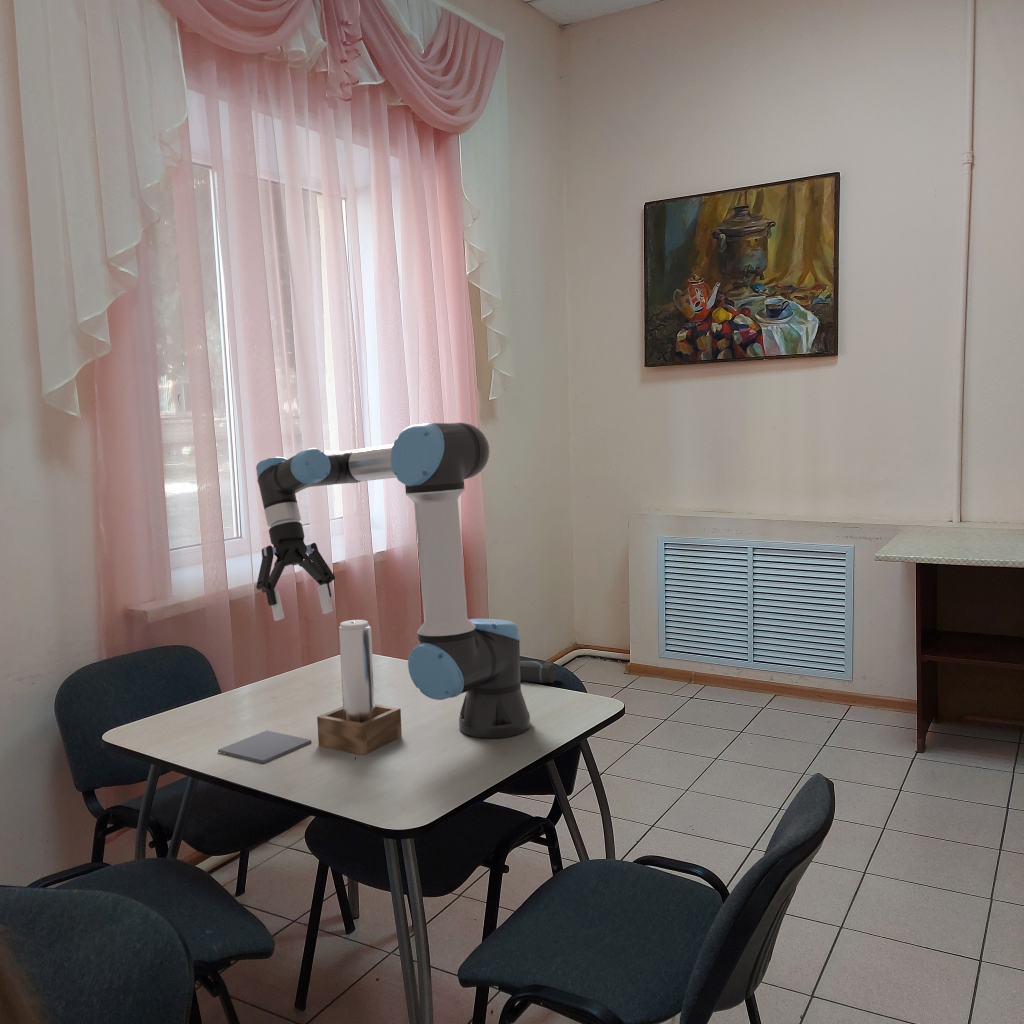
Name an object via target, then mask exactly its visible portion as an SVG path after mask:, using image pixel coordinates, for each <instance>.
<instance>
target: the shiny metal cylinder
mask: <svg viewBox="0 0 1024 1024" xmlns="http://www.w3.org/2000/svg"><path fill="white" fill-rule="evenodd" d="M338 631H339V632H338V634H339V651H340V657H339V658H340V670H341V671H340V672H341V673H340V676H341V695H342V697H341V698H342V707H343V717H344V720H349V721H354V722H359V723H362V722H365V721H367V720H369V719H371V718H374V717H375V704H376V702H375V700H376V699H375V681H374V663H373V661H374V660H373V641H372V639H373V638H372V637H373V636H372V626H371V625H370V624H369V621H368V620H365V619H351V620H350V619H349V620H345V621H342V622H340V626H339V627H338Z"/></svg>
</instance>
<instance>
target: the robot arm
mask: <svg viewBox="0 0 1024 1024" xmlns="http://www.w3.org/2000/svg"><path fill="white" fill-rule="evenodd" d="M489 457H490V445H489V442H488V439H487V437H486V436H485V434H484V433H483V432H482V431H481V430H480V429H479V428H478V427H476V426H474V425H472V424H470V423H465V422H451V423H450V422H445V423H444V422H442V423H441V422H438V423H437V422H435V423H434V422H428V423H427V422H425V423H420V424H413V425H409V426H407V427H406V428H404V429H402V430H401V432H400V433H399V434H398V436H397V437H396V438H395V440H394V442H393V443H392V444H386V445H385V444H384V445H383V444H382V445H379V446H371V447H365V448H364V447H363V448H358V449H350V450H344V451H331V452H327V451H326V452H324V450H321V449H318V448H316V447H310V448H307V449H305V450H300V451H299V452H297V453H296V454H295V455H293V456H291V457H289V458H287V457H284V456H274V457H268V458H266V459H262V460H260V461H259V462H258V463H257V464H256V466H255V468H256V469H255V470H256V477H257V480H256V481H257V484H258V487H259V492H260V496H261V501H262V505H263V509H264V514H265V519H266V525H267V527H268V528H269V530H268V534H269V539H270V543H271V544H272V545H273V546H272V545H267V546H265V547H264V548H262V549H261V557H262V558H261V563H260V568H259V573H258V576H257V582H256V588H255V589H257V590H258V591H259V590H261V592H262V593H263V594H266V600H267V604H268V606H271V611H272V616H273V621H274V622H277V621H280V620H284V619H285V614H284V613H285V612H284V607H283V604H282V598H281V595H280V590H279V588H276V586H277V584H278V582H279V580H280V577H281V575H282V573H283V571H284V569H285V568H286V567H288V566H297V565H298V566H299V567H302V568H303V570H305V571H306V573H308V575H309V576H311V578H313V579H314V580H315V582H316V583H317V584H318V585H319V586H318V585H317V586H316V589H317V592H318V597H319V601H320V607H321V611H322V614H323V615H325V614H329V613H332V612H334V611H333V604H332V601H331V598H332V591H331V587H330V583H332V582H333V581H335V580H336V576H335V575H334V573H333V571H332V570H331V568H330V566H329V565H328V563H327V562H326V561H325V559H324V558H323V556H322V555H321V553H320V551H319V548H318V545H317V543H316V542H312V543H310V544H308V545H307V544H305V541H304V540H305V532H304V526H303V523H301V520H302V517H301V513H300V509H299V504H298V501H297V496H296V494H297V493H299V492H301V491H303V490H305V489H308V488H312V487H322V486H323V487H324V486H331V485H343V484H358V483H361V482H368V481H369V482H370V481H376V480H387V479H394V478H396V479H397V480H398V482H400V483H402V484H403V485H404V487H405V489H404V490H405V495H406V496H407V497H408V498H409V499H410V500H411V501H412V502H413V503H414V505H413V506H414V515H415V516H414V517H415V525H416V539H417V548H418V561H419V562H418V563H419V573H420V585H421V586H420V589H421V595H422V596H421V598H422V611H423V620H424V621H423V623H422V624H421V625H420V626H419V628H418V630H417V642H418V643H417V645H416V646H415V647H414V648H413V649H412V650H411V653H409V655H408V659H407V668H408V673H409V677H410V679H411V681H412V682H413V685H414V686H415V687H416V688H417V689H419V692H421V694H423V696H425V697H427V698H428V699H432V700H435V701H443V700H448V699H449V698H451V699H452V698H453V699H454V698H456V697H458V696H460V695H462V694H463V693H465V695H464V699H463V702H462V705H461V709H460V712H459V717H458V727H459V731H460V732H461V733H463V734H464V735H467V736H470V737H475V738H480V739H481V738H482V739H483V738H484V739H498V738H500V739H501V738H508V737H512V736H513V735H514V736H517V735H520V734H523V733H524V731H525V732H527V731H528V730H529V729H530V727H531V716H530V712H529V711H528V707H527V704H526V700H525V699H524V698H525V697H524V696H523V692H522V688H521V682H522V681H520V661H521V654H520V652H521V650H520V649H521V648H520V643H521V638H520V631H519V626H518V625H517V623H516V622H514V621H511V620H506V619H497V618H470V619H469V618H468V611H467V610H468V609H467V597H466V584H465V583H466V582H465V574H464V562H463V561H464V559H463V549H462V547H463V546H462V537H461V536H462V535H461V523H460V521H461V520H460V510H459V497H460V496H461V495H462V494H463V493H464V491H465V480H467V479H471V478H474V477H475V476H476V475H478V474H479V473H481V472H482V471H483V469H485V467H486V465H487V463H488V461H489ZM274 557H276V560H275V561H274ZM273 561H274V564H273ZM273 565H274V566H273ZM272 566H273V569H272ZM271 569H272V570H271ZM528 728H529V729H528ZM527 729H528V730H527ZM522 732H523V733H522Z"/></svg>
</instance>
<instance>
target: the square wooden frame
mask: <svg viewBox="0 0 1024 1024" xmlns="http://www.w3.org/2000/svg"><path fill="white" fill-rule="evenodd" d="M401 715H402V713H401V708H399V707H394V706H389V705H382V704H378V703H375V717H374V718H371V719H369V720H367V721H365V722H362V723H359V722H354V721H349V720H344V717H343V706H340V707H337V708H336V709H333V710H331V711H328V712H326V713H323V714H321V715H318V716H317V717H316V721H317V737H318V738H317V739H318V741H317V742H318V743H317V744H318V746H320V747H325V748H328V749H333V750H338V751H342V752H343V751H344V752H348V753H352V754H357V755H361V756H365V755H367V754H368V753H371V752H373V751H375V750H377V749H379V748H381V747H383V746H385V745H388V744H390V743H392V742H393V741H396V740H397V739H399V738H402V737H403V734H402V716H401Z"/></svg>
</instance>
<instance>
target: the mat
mask: <svg viewBox="0 0 1024 1024" xmlns="http://www.w3.org/2000/svg"><path fill="white" fill-rule="evenodd" d="M309 744H312V740H311V739H309V738H304V737H299V736H294V735H290V734H286V733H282V732H276V731H272V730H265V731H261V732H260V733H257V734H254V735H252V736H249V737H246V738H245V739H244V738H243V739H242V740H239V741H236V742H234V743H231V744H229V745H226V746H224V747H222V748H219V749H217V753H218V752H221V753H220V754H222V753H225V754H224V755H227V754H228V756H231V757H235V758H240V759H244V760H248V761H252V762H256V763H259V764H266V763H268V762H270V761H273V760H275V759H277V758H279V757H282V756H284V755H287V754H289V753H292V752H293V751H295V750H296V751H297V750H298V749H300V748H303V747H305V746H308V745H309Z"/></svg>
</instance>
